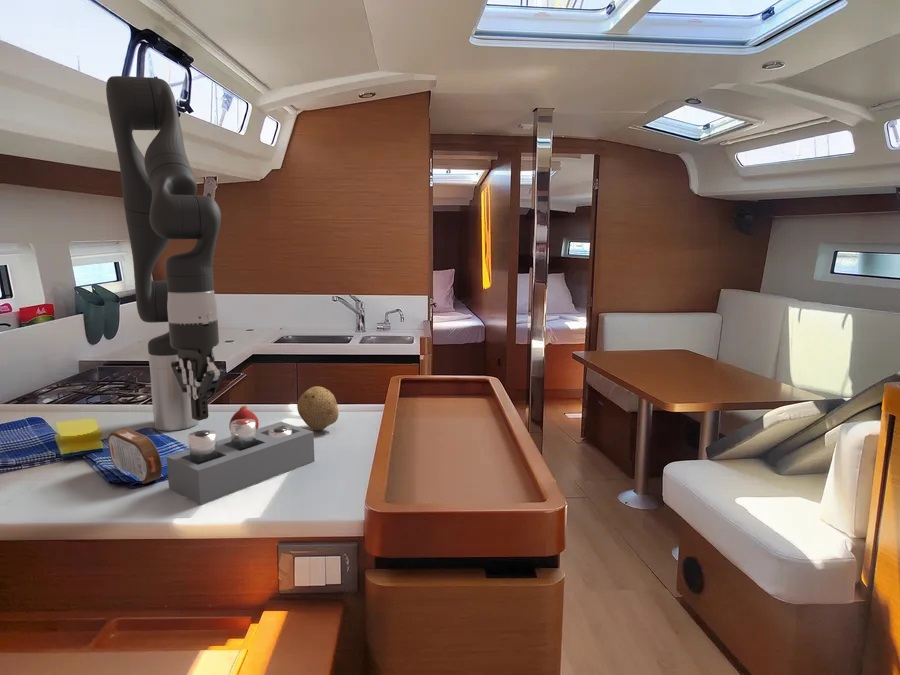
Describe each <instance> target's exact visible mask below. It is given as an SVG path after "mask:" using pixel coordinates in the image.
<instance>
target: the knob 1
mask: <svg viewBox="0 0 900 675" xmlns="http://www.w3.org/2000/svg"><path fill="white" fill-rule="evenodd" d="M187 438H188V450H189V451H190V459H191V460H193V461H206V460H210V459H213V458H215V457H216V456H217V441H218V440H217V432H216V431H215V430H212V429H211V430H210V429H202V430H196V431H193V432H191V433H189V434H188V436H187Z"/></svg>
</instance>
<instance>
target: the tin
mask: <svg viewBox="0 0 900 675" xmlns="http://www.w3.org/2000/svg"><path fill="white" fill-rule="evenodd" d="M107 443H108V450H109V455H110V457H109V458H110V460H111V462H112V464H113V466H114V467H115V466H116V467H119V468H121V469H123V470H125V471H127V472H129V473H131V474H132V475H134V476H136V477H137V478H139V479H140V480H141V481H142V485H143V484H144V485H145V484H147V483H151V482H153V481H157V480H159V479H160V478H161V476H162V472H163V464H162V460H161V456H160V453H159V451H158V448H157V446H156V444H155V442H153V440H151V438H149V437H148V436H147V435H144V434H141V433H140V432H137V431H134V430H132V429H130V428H128V427H123V428H121V429H119V430H115V431H111V433H110V434H109V435H108V437H107ZM116 467H115V468H116Z"/></svg>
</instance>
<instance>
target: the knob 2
mask: <svg viewBox="0 0 900 675" xmlns="http://www.w3.org/2000/svg"><path fill="white" fill-rule="evenodd" d="M268 434H269V436H271V437H274V438H277V439H278V438H281V437H284V436H287V435H290V434H292V429H291V428H289V427H276V428H272V429H270V430H269V431H268Z"/></svg>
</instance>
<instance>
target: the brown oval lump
mask: <svg viewBox="0 0 900 675" xmlns="http://www.w3.org/2000/svg"><path fill="white" fill-rule="evenodd" d="M296 404H297V405H296V407H297V412H298V414H299V417H300V418H301V419H302V420H303V422H304V423H305V424H306V426H308V427H309V428H310V429H311V430H313V431H323V430H325V429H326V428H327V427H329V426H330V425H334V424H335V423H336V422H337V421H338V419H339V414H340V413H339V407H338V403H337V400H336V397H335V395H334V394H333V393H332V392H331V390H329V389H327V388H325V387H323V386H317V385H316V386H312V387H310V388H308V389H306V390H305V391H304V392H303V393H302V394H301V396H299V398H298V401H297V403H296Z"/></svg>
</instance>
